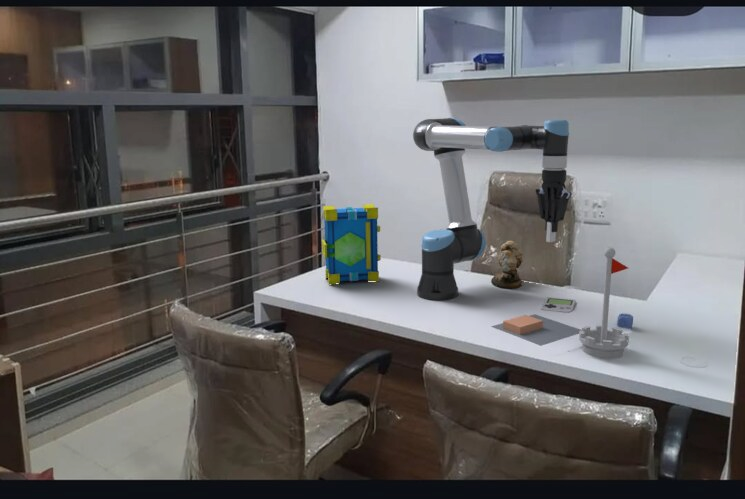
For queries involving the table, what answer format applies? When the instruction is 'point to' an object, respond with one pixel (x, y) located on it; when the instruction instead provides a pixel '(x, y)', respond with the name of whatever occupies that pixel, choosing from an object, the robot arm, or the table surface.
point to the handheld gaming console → (558, 305)
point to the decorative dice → (625, 321)
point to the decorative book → (351, 243)
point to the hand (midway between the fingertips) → (550, 241)
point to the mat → (545, 331)
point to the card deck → (522, 324)
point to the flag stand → (605, 321)
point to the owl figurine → (508, 266)
